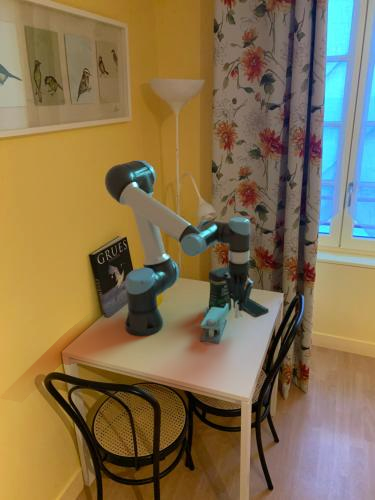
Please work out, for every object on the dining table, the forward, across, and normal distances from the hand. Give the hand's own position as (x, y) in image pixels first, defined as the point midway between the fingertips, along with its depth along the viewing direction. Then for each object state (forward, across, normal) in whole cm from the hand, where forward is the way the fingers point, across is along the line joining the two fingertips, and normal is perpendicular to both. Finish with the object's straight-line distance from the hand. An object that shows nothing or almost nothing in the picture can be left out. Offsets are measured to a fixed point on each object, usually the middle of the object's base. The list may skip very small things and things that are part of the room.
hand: (238, 316), depth 155 cm
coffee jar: (+7, +17, -9) cm, 20 cm away
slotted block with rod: (+7, +7, +6) cm, 11 cm away
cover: (+1, +7, +6) cm, 9 cm away
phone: (+7, +8, -18) cm, 21 cm away
